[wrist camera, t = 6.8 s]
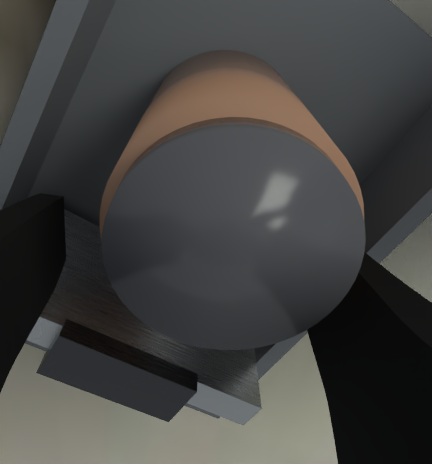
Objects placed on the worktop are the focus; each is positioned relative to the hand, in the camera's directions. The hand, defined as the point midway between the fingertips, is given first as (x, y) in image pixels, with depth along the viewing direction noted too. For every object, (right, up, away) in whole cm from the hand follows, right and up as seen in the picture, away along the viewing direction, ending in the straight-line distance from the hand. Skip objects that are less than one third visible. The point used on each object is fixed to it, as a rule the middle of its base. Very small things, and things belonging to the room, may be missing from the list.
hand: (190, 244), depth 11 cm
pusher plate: (-2, 0, +5) cm, 6 cm away
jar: (+1, +4, +2) cm, 4 cm away
